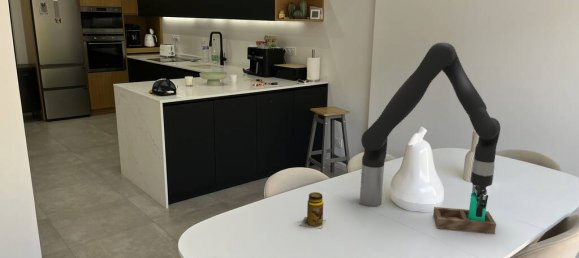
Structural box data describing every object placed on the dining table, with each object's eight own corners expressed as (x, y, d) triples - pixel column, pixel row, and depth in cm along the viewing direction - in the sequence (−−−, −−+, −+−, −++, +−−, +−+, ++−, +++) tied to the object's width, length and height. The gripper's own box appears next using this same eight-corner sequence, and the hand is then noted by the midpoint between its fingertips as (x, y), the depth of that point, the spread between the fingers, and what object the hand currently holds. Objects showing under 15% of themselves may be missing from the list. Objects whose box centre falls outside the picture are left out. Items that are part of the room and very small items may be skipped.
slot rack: (437, 228, 166) (438, 219, 165) (433, 216, 177) (434, 206, 176) (494, 233, 163) (496, 224, 162) (487, 220, 174) (488, 211, 173)
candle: (486, 224, 165) (490, 194, 162) (469, 222, 166) (473, 193, 163) (482, 217, 171) (486, 188, 168) (466, 215, 172) (470, 187, 169)
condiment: (321, 228, 165) (322, 199, 162) (299, 225, 168) (300, 196, 165) (325, 220, 172) (326, 192, 169) (304, 217, 175) (305, 189, 171)
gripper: (467, 164, 171) (462, 204, 175) (476, 177, 157) (470, 220, 162) (488, 165, 170) (482, 206, 174) (498, 178, 156) (492, 222, 161)
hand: (476, 213), depth 168 cm, fingers closed on candle, 4 cm apart
